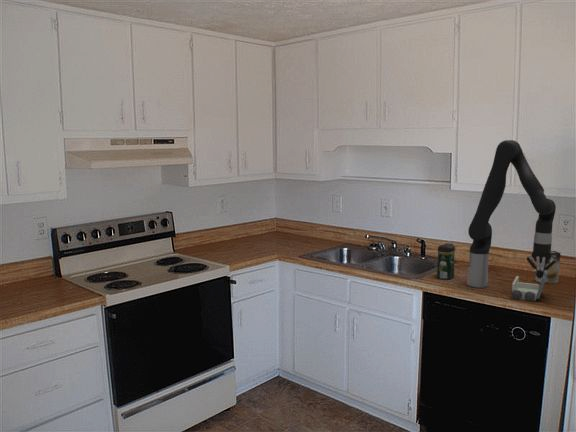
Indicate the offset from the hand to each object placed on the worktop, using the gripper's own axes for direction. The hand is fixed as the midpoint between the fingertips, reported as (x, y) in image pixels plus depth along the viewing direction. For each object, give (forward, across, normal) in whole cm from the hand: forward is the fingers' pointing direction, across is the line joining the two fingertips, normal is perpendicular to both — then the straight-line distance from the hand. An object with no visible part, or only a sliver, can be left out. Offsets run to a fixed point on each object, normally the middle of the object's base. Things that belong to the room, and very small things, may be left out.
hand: (539, 277), depth 244 cm
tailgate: (+8, 0, 0) cm, 8 cm away
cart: (+10, -6, 0) cm, 11 cm away
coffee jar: (+10, -47, +13) cm, 49 cm away
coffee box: (+10, +1, +31) cm, 33 cm away
